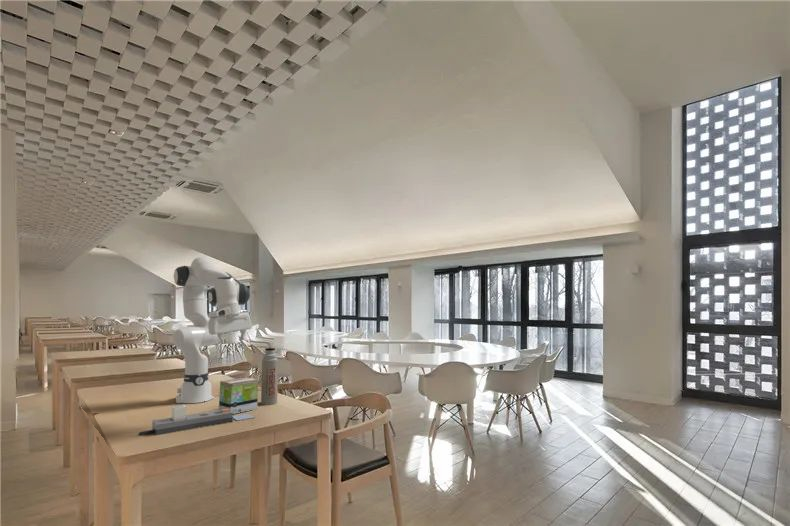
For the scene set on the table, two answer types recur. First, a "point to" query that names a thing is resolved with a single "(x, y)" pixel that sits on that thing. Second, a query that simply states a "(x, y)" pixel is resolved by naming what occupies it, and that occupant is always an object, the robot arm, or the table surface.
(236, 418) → the felt pad
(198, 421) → the power strip
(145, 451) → the table surface
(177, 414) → the charger
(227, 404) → the tea box
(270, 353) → the thermos bottle
